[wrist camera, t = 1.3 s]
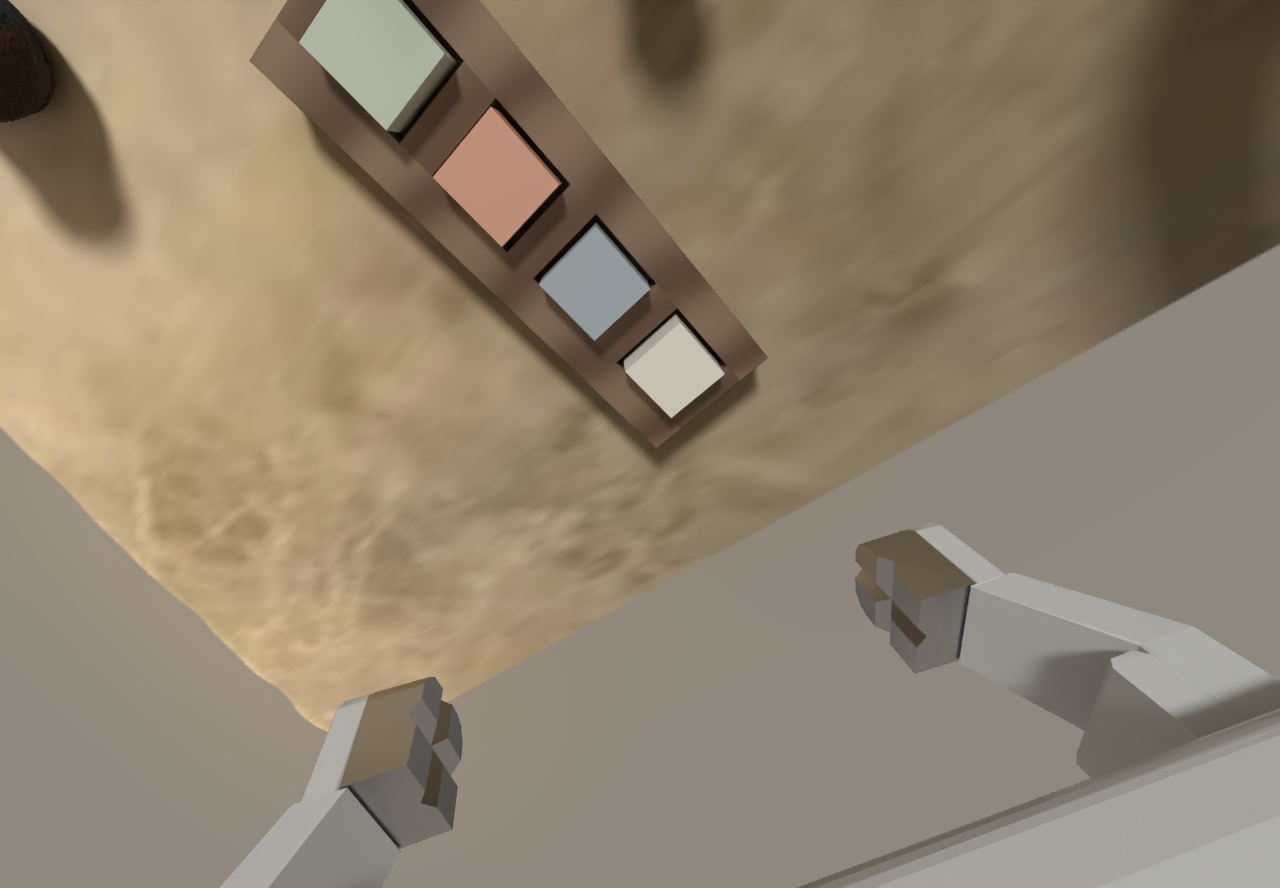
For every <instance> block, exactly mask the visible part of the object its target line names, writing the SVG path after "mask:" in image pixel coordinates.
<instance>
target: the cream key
mask: <svg viewBox="0 0 1280 888" xmlns="http://www.w3.org/2000/svg"><path fill="white" fill-rule="evenodd" d="M624 367H625V372H626V373H627V374H628V375H629V376H630V377H631V378H632V379H633V380H634V381H635V382H636V383H637V384H638V385H639V386H640V387H641V388H642V389H643V390H644V391H645V392H646V393H647V394H648V395H649V396H650V397H651V398H652V399H653V400H654V401H655V402H656V403H657V404H658V405H659V406H660V407H661V408H662V409H663V410H664V411H665V412H666V413H667V414H668V415H669V416H670V417H671V418H672V417H673V416H674V415H676V414H677V413H678V412H679V411H680V410H682V409H683V408H684V407H685V406H687V405H688V404H689V403H690V402H691V401H693V400H694V399H695V398H696V397H698V396H699V395H700V394H701V393H702V392H704V391H705V390H706V389H707V388H709V387H710V386H711V385H712V384H713V383H715V382H716V381H717V380H718V379H720V378H721V377H722V376H723V375H724V374H725V373H724V372H723V370H722V368H721V367H720V365H719V363H718V362H717V361H716V360H715V358H714V357H713V356H712V355H711V354H710V353H709V351H708V350H707V349H706V348H705V347H704V346H703V345H702V343H701V342H700V341H699V340H698V339H697V338H696V337H695V335H694V334H693V333H692V332H691V331H690V330H689V329H688V327H687V326H686V325H685V324H684V323H683V322H682V320H681V319H680V318H679V317H678V316H677V315H676V314H674V315H673V316H671V317H670V318H669V319H668V320H667V321H666V322H665V323H664V324H663V325H661V326H660V327H659V328H658V329H657V330H656V331H655V332H654V333H652V334H651V335H650V336H649V337H648V338H647V339H646V340H645V341H644V342H642V343H641V344H640V345H639V346H638V347H637V348H636V349H635V350H634V351H632V352H631V353H630V354H629V355H628V356H627V357H626V358H625V359H624Z"/></svg>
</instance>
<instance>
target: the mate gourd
mask: <svg viewBox="0 0 1280 888" xmlns="http://www.w3.org/2000/svg"><path fill="white" fill-rule="evenodd" d="M54 90H55V74H54V68H53V65H52V62H51V60H50V58H49V56H48V54H47V52H46V50H45V48H44V46H43V44H42V41H41V40H40V38H39V36H38V35H37V33H36V32H35V30H34V29H33V27H32V26H31V25H30V23H29V22H28V21H27V19H26V18H25V17H24V16H23V15H22V14H21V13H20V12H19V10H18V9H17V8H16V7H15V6H14V5H13V4H11V3H10V1H9V0H0V123H1V122H8V121H12V122H13V121H14V120H19V119H20V118H25V116H29V115H30V114H33V113H36V112H39V111H41V110H43V109H44V108H45V107H46V106H47V105H48V104H49V102H50V100H51V99H52V96H53V93H54Z"/></svg>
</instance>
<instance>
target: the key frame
mask: <svg viewBox="0 0 1280 888" xmlns="http://www.w3.org/2000/svg"><path fill="white" fill-rule="evenodd" d="M403 1H404V2H405V4H406V5H407V6H408V7H409V8H410V9H411V10H412V12H413V13H414V14H415V15H416V16H417V17H418V18H419V20H420V21H421V22H422V23H423V24H424V25H425V27H426V28H427V29H428V30H429V31H430V32H431V33H432V35H433V36H434V37H435V38H436V39H437V40H438V41H439V43H440V44H441V45H442V46H443V47H444V48H445V49H446V51H447V52H448V53H449V54H450V55H451V56H452V58H453V59H454V60H455V61H456V62H457V63H456V64H455V66H454V67H453V68H452V70H451V71H450V72H449V73H448V75H447V76H446V77H445V79H444V80H443V81H442V83H441V84H440V85H439V86H438V88H437V89H436V90H435V92H434V93H433V94H432V95H431V97H430V98H429V99H428V101H427V102H426V103H425V104H424V106H423V107H422V108H421V110H420V111H419V112H418V114H417V115H416V116H415V117H414V119H413V120H412V121H411V123H410V124H409V125H408V126H407V128H406V129H405V130H404V132H403V133H398V132H392V131H386V130H385V129H384V128H383V127H382V126H381V125H380V124H379V123H378V122H377V121H376V120H375V119H374V118H373V117H372V116H371V115H370V114H369V113H368V112H367V111H366V110H365V109H364V108H363V107H362V106H361V105H360V104H359V103H358V102H357V101H356V99H355V98H354V97H353V96H352V95H351V94H350V93H349V92H348V91H347V90H346V89H345V88H344V87H343V86H342V85H341V84H340V83H339V82H338V81H337V80H336V79H335V78H334V77H333V76H332V75H331V74H330V73H329V72H328V71H327V70H326V69H325V68H324V67H323V66H322V65H321V64H320V63H319V62H318V61H317V60H316V59H315V58H314V57H313V56H312V55H311V54H310V53H309V52H308V51H307V50H306V49H305V48H304V47H303V46H302V45H301V44H300V43H299V41H300V40H301V38H302V37H303V35H304V34H305V32H306V31H307V29H308V28H309V26H310V25H311V23H312V22H313V20H314V19H315V17H316V16H317V14H318V12H319V11H320V9H321V8H322V6H323V5H324V3H325V2H326V0H287V2H286V3H285V5H284V7H283V8H282V10H281V11H280V13H279V14H278V16H277V18H276V19H275V21H274V22H273V24H272V26H271V27H270V29H269V30H268V32H267V33H266V35H265V37H264V38H263V40H262V41H261V43H260V45H259V46H258V48H257V49H256V51H255V53H254V54H253V56H252V57H251V59H250V60H249V61H250V62H251V63H252V64H253V65H254V66H255V67H256V68H257V69H258V70H260V71H261V72H262V73H263V74H264V75H265V76H266V77H267V78H268V79H269V80H270V81H271V82H272V83H273V84H274V85H275V86H276V87H277V88H278V89H279V90H281V91H282V92H283V93H284V94H285V95H286V96H287V97H288V98H289V99H290V100H291V101H292V102H293V103H294V104H295V105H296V106H297V107H298V108H299V109H300V110H302V111H303V112H304V113H305V114H306V115H307V116H308V117H309V118H310V119H311V120H312V121H313V122H314V123H315V124H316V125H317V126H318V127H319V128H320V129H321V130H323V131H324V132H325V133H326V134H327V135H328V136H329V137H330V138H331V139H332V140H333V141H334V142H335V143H336V144H337V145H338V146H339V147H340V148H341V149H342V150H344V151H345V152H346V153H347V154H348V155H349V156H350V157H351V158H352V159H353V160H354V161H355V162H356V163H357V164H358V165H359V166H360V167H361V168H362V169H363V170H364V171H366V172H367V173H368V174H369V175H370V176H371V177H372V178H373V179H374V180H375V181H376V182H377V183H378V184H379V185H380V186H381V187H382V188H383V189H384V190H385V191H387V192H388V193H389V194H390V195H391V196H392V197H393V198H394V199H395V200H396V201H397V202H398V203H399V204H400V205H401V206H402V207H403V208H404V209H405V210H406V211H408V212H409V213H410V214H411V215H412V216H413V217H414V218H415V219H416V220H417V221H418V222H419V223H420V224H421V225H422V226H423V227H424V228H425V229H426V230H427V231H429V232H430V233H431V234H432V235H433V236H434V237H435V238H436V239H437V240H438V241H439V242H440V243H441V244H442V245H443V246H444V247H445V248H446V249H447V250H448V251H450V252H451V253H452V254H453V255H454V256H455V257H456V258H457V259H458V260H459V261H460V262H461V263H462V264H463V265H464V266H465V267H466V268H467V269H468V270H469V271H471V272H472V273H473V274H474V275H475V276H476V277H477V278H478V279H479V280H480V281H481V282H482V283H483V284H484V285H485V286H486V287H487V288H488V289H489V290H490V291H491V292H493V293H494V294H495V295H496V296H497V297H498V298H499V299H500V300H501V301H502V302H503V303H504V304H505V305H506V306H507V307H508V308H509V309H510V310H511V311H512V312H514V313H515V314H516V315H517V316H518V317H519V318H520V319H521V320H522V321H523V322H524V323H525V324H526V325H527V326H528V327H529V328H530V329H531V330H532V331H533V332H535V333H536V334H537V335H538V336H539V337H540V338H541V339H542V340H543V341H544V342H545V343H546V344H547V345H548V346H549V347H550V348H551V349H552V350H553V351H554V352H556V353H557V354H558V355H559V356H560V357H561V358H562V359H563V360H564V361H565V362H566V363H567V364H568V365H569V366H570V367H571V368H572V369H573V370H574V371H575V372H577V373H578V374H579V375H580V376H581V377H582V378H583V379H584V380H585V381H586V382H587V383H588V384H589V385H590V386H591V387H592V388H593V389H594V390H595V391H596V392H598V393H599V394H600V395H601V396H602V397H603V398H604V399H605V400H606V401H607V402H608V403H609V404H610V405H611V406H612V407H613V408H614V409H615V410H616V411H617V412H618V413H620V414H621V415H622V416H623V417H624V418H625V419H626V420H627V421H628V422H629V423H630V424H631V425H632V426H633V427H634V428H635V429H636V430H637V431H638V432H639V433H641V434H642V435H643V436H644V437H645V438H646V439H647V440H648V441H649V442H650V443H651V444H652V445H653V446H654V447H655V448H657V447H658V446H659V445H661V444H662V443H663V442H664V441H666V440H667V439H668V438H669V437H671V436H672V435H673V434H674V433H676V432H677V431H678V430H679V429H681V428H682V427H683V426H684V425H685V424H687V423H688V422H689V421H690V420H692V419H693V418H694V417H695V416H697V415H698V414H699V413H700V412H702V411H703V410H704V409H705V408H707V407H708V406H709V405H710V404H712V403H713V402H714V401H715V400H716V399H718V398H719V397H720V396H721V395H723V394H724V393H725V392H726V391H728V390H729V389H730V388H731V387H733V386H734V385H735V384H736V383H738V382H739V381H740V380H741V379H743V378H744V377H745V376H746V375H747V374H749V373H750V372H751V371H752V370H754V369H755V368H756V367H757V366H759V365H760V364H761V363H762V362H764V361H765V360H766V359H767V358H768V357H767V356H766V354H765V353H764V352H763V351H762V349H761V348H760V347H759V346H758V345H757V343H756V342H755V341H754V340H753V338H752V337H751V336H750V335H749V333H748V332H747V331H746V330H745V328H744V327H743V326H742V325H741V323H740V322H739V321H738V320H737V319H736V317H735V316H734V315H733V314H732V312H731V311H730V310H729V309H728V307H727V306H726V305H725V304H724V302H723V301H722V300H721V299H720V297H719V296H718V295H717V294H716V293H715V291H714V290H713V289H712V288H711V286H710V285H709V284H708V283H707V281H706V280H705V279H704V278H703V276H702V275H701V274H700V273H699V271H698V270H697V269H696V268H695V266H694V265H693V264H692V263H691V262H690V260H689V259H688V258H687V257H686V255H685V254H684V253H683V252H682V250H681V249H680V248H679V247H678V245H677V244H676V243H675V242H674V240H673V239H672V238H671V237H670V236H669V234H668V233H667V232H666V231H665V229H664V228H663V227H662V226H661V224H660V223H659V222H658V221H657V219H656V218H655V217H654V216H653V214H652V213H651V212H650V211H649V210H648V208H647V207H646V206H645V205H644V203H643V202H642V201H641V200H640V198H639V197H638V196H637V195H636V193H635V192H634V191H633V190H632V188H631V187H630V186H629V185H628V184H627V182H626V181H625V180H624V179H623V177H622V176H621V175H620V174H619V172H618V171H617V170H616V169H615V167H614V166H613V165H612V164H611V162H610V161H609V160H608V159H607V158H606V156H605V155H604V154H603V153H602V151H601V150H600V149H599V148H598V146H597V145H596V144H595V143H594V141H593V140H592V139H591V138H590V136H589V135H588V134H587V133H586V132H585V130H584V129H583V128H582V127H581V125H580V124H579V123H578V122H577V120H576V119H575V118H574V117H573V115H572V114H571V113H570V112H569V110H568V109H567V108H566V107H565V106H564V104H563V103H562V102H561V101H560V99H559V98H558V97H557V96H556V94H555V93H554V92H553V91H552V89H551V88H550V87H549V86H548V84H547V83H546V82H545V81H544V80H543V78H542V77H541V76H540V75H539V73H538V72H537V71H536V70H535V68H534V67H533V66H532V65H531V63H530V62H529V61H528V60H527V58H526V57H525V56H524V55H523V53H522V52H521V51H520V50H519V49H518V47H517V46H516V45H515V44H514V42H513V41H512V40H511V39H510V37H509V36H508V35H507V34H506V32H505V31H504V30H503V29H502V27H501V26H500V25H499V24H498V23H497V21H496V20H495V19H494V18H493V16H492V15H491V14H490V13H489V11H488V10H487V9H486V8H485V6H484V5H483V4H482V3H481V1H480V0H403ZM490 107H492V108H494V109H496V110H498V111H500V113H501V114H502V115H503V116H504V117H505V118H506V120H507V121H508V122H509V123H510V124H511V125H512V126H513V128H514V129H515V130H516V131H517V132H518V133H519V134H520V136H521V137H522V138H523V139H524V140H525V141H526V142H527V144H528V145H529V146H530V147H531V148H532V149H533V151H534V152H535V153H536V154H537V155H538V156H539V157H540V159H541V160H542V161H543V162H544V163H545V164H546V165H547V167H548V168H549V169H550V170H551V171H552V172H553V173H554V175H555V176H556V177H557V178H558V179H559V180H560V182H561V183H562V184H561V185H560V186H559V187H558V188H557V189H556V190H555V191H554V193H553V194H552V195H551V196H550V197H549V198H548V199H547V200H546V201H545V202H544V203H543V204H542V206H541V207H540V208H539V209H538V210H537V211H536V212H535V213H534V214H533V215H532V216H531V217H530V219H529V220H528V221H527V222H526V223H525V224H524V225H523V226H522V227H521V228H520V229H519V231H518V232H517V233H516V234H515V235H514V236H513V237H512V238H511V239H510V240H509V241H508V242H507V243H506V244H505V245H504V246H502V247H501V246H500V245H499V244H498V243H497V242H496V241H495V240H494V239H493V238H492V237H491V236H490V235H489V234H488V233H487V232H486V231H485V230H484V229H483V228H482V227H481V226H480V225H479V224H478V223H477V222H476V221H475V220H474V219H473V218H472V217H471V216H470V215H469V214H468V213H467V212H466V211H465V210H464V209H463V207H462V206H461V205H460V204H459V203H458V202H457V201H456V200H455V199H454V198H453V197H452V196H451V195H450V194H449V193H448V192H447V191H446V190H445V189H444V188H443V187H442V186H441V185H440V184H439V183H438V182H437V181H436V180H435V179H434V178H433V176H434V175H435V174H436V173H437V172H438V170H439V169H440V168H441V167H442V165H443V164H444V163H445V162H446V161H447V159H448V158H449V157H450V156H451V155H452V153H453V152H454V151H455V150H456V148H457V147H458V146H459V145H460V144H461V142H462V141H463V140H464V139H465V137H466V136H467V135H468V134H469V133H470V131H471V130H472V129H473V128H474V127H475V125H476V124H477V123H478V122H479V120H480V119H481V118H482V117H483V116H484V114H485V113H486V112H487V111H488V110H489V108H490ZM595 223H597V224H598V225H599V226H600V227H601V229H602V230H603V231H604V232H605V233H606V234H607V235H608V237H609V238H610V239H611V240H612V241H613V242H614V244H615V245H616V246H617V247H618V248H619V249H620V250H621V252H622V253H623V254H624V255H625V256H626V257H627V258H628V260H629V261H630V262H631V263H632V264H633V265H634V267H635V268H636V269H637V270H638V271H639V272H640V273H641V275H642V276H643V277H644V278H645V279H646V280H647V282H648V284H649V287H650V290H649V291H648V292H647V293H646V294H644V295H643V296H642V297H641V298H640V299H639V300H638V301H637V302H636V303H635V304H634V305H633V306H632V307H631V308H629V309H628V310H627V311H626V312H625V313H624V314H623V315H622V316H621V317H620V318H619V319H618V320H617V321H615V322H614V323H613V324H612V325H611V326H610V327H609V328H608V329H607V330H606V331H605V332H604V333H603V334H602V335H600V336H599V337H598V338H597V339H596V340H595V341H594V340H593V339H592V338H591V337H590V336H589V335H588V334H587V333H586V332H585V331H584V330H583V329H582V328H581V327H580V326H579V325H578V324H577V323H576V322H575V321H574V320H573V319H572V318H571V317H570V315H569V314H568V313H567V312H566V311H565V310H564V309H563V308H562V307H561V306H560V305H559V304H558V303H557V302H556V301H555V300H554V299H553V298H552V297H551V296H550V295H549V294H548V293H547V292H546V291H545V290H544V289H543V288H542V287H541V286H540V285H539V283H540V281H541V279H542V277H543V276H544V275H545V274H546V273H547V272H548V271H549V270H550V269H551V268H552V267H553V266H554V265H555V264H556V263H557V262H558V261H559V260H560V259H561V258H562V257H563V256H564V255H565V254H566V253H567V252H568V251H569V249H570V248H571V247H572V246H573V245H574V244H575V243H576V242H577V241H578V240H579V239H580V238H581V237H582V236H583V235H584V234H585V233H586V232H587V231H588V230H589V229H590V228H591V227H592V226H593V225H594V224H595ZM674 314H676V315H677V316H678V317H679V318H680V319H681V320H682V322H683V323H684V324H685V325H686V326H687V327H688V329H689V330H690V331H691V332H692V333H693V334H694V335H695V337H696V338H697V339H698V340H699V341H700V342H701V343H702V345H703V346H704V347H705V348H706V349H707V350H708V351H709V353H710V354H711V355H712V356H713V357H714V358H715V360H716V361H717V362H718V363H719V365H720V367H721V368H722V370H723V372H724V373H725V374H724V375H723V376H722V377H721V378H720V379H718V380H717V381H716V382H715V383H713V384H712V385H711V386H710V387H709V388H707V389H706V390H705V391H704V392H702V393H701V394H700V395H699V396H698V397H696V398H695V399H694V400H693V401H691V402H690V403H689V404H688V405H687V406H685V407H684V408H683V409H682V410H680V411H679V412H678V413H677V414H676V415H674V416H673V417H672V418H671V417H670V416H669V415H668V414H667V413H666V412H665V411H664V410H663V409H662V408H661V407H660V406H659V405H658V404H657V403H656V402H655V401H654V400H653V399H652V398H651V397H650V396H649V395H648V394H647V393H646V392H645V391H644V390H643V389H642V388H641V387H640V386H639V385H638V384H637V383H636V382H635V381H634V380H633V379H632V378H631V377H630V376H629V375H628V374H627V373H626V372H625V367H624V359H625V358H626V357H627V356H628V355H629V354H630V353H631V352H632V351H634V350H635V349H636V348H637V347H638V346H639V345H640V344H641V343H642V342H644V341H645V340H646V339H647V338H648V337H649V336H650V335H651V334H652V333H654V332H655V331H656V330H657V329H658V328H659V327H660V326H661V325H663V324H664V323H665V322H666V321H667V320H668V319H669V318H670V317H671V316H673V315H674Z"/></svg>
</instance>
